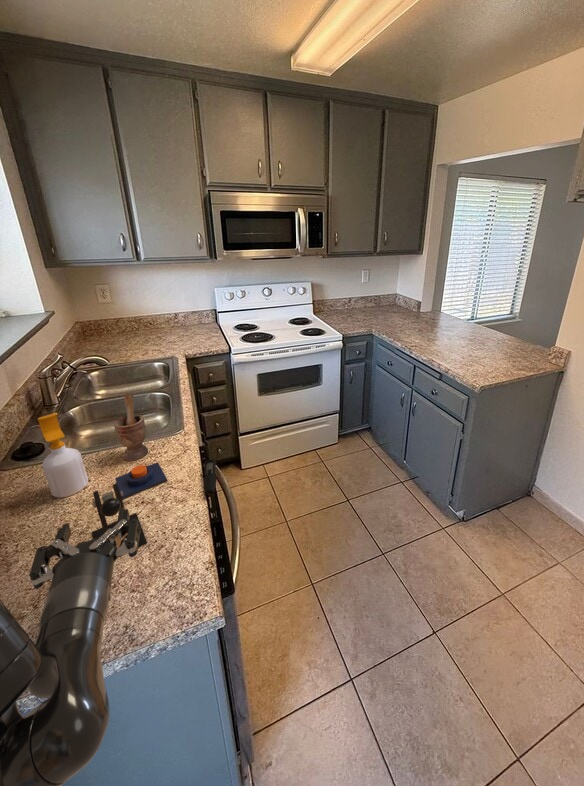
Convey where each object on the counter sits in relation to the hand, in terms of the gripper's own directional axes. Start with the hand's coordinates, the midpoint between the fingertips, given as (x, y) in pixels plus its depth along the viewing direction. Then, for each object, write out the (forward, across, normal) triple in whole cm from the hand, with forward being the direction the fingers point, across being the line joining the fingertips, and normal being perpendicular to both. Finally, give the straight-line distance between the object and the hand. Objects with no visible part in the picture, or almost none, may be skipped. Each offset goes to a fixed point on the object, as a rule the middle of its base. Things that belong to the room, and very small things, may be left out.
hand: (95, 519), depth 63 cm
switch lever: (+14, +1, +9) cm, 17 cm away
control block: (+40, -2, +22) cm, 46 cm away
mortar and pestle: (+59, 0, +22) cm, 63 cm away
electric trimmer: (+34, -21, +23) cm, 46 cm away
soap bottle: (+48, +17, +22) cm, 56 cm away
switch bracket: (+20, +2, +23) cm, 30 cm away
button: (+40, -2, +19) cm, 44 cm away
